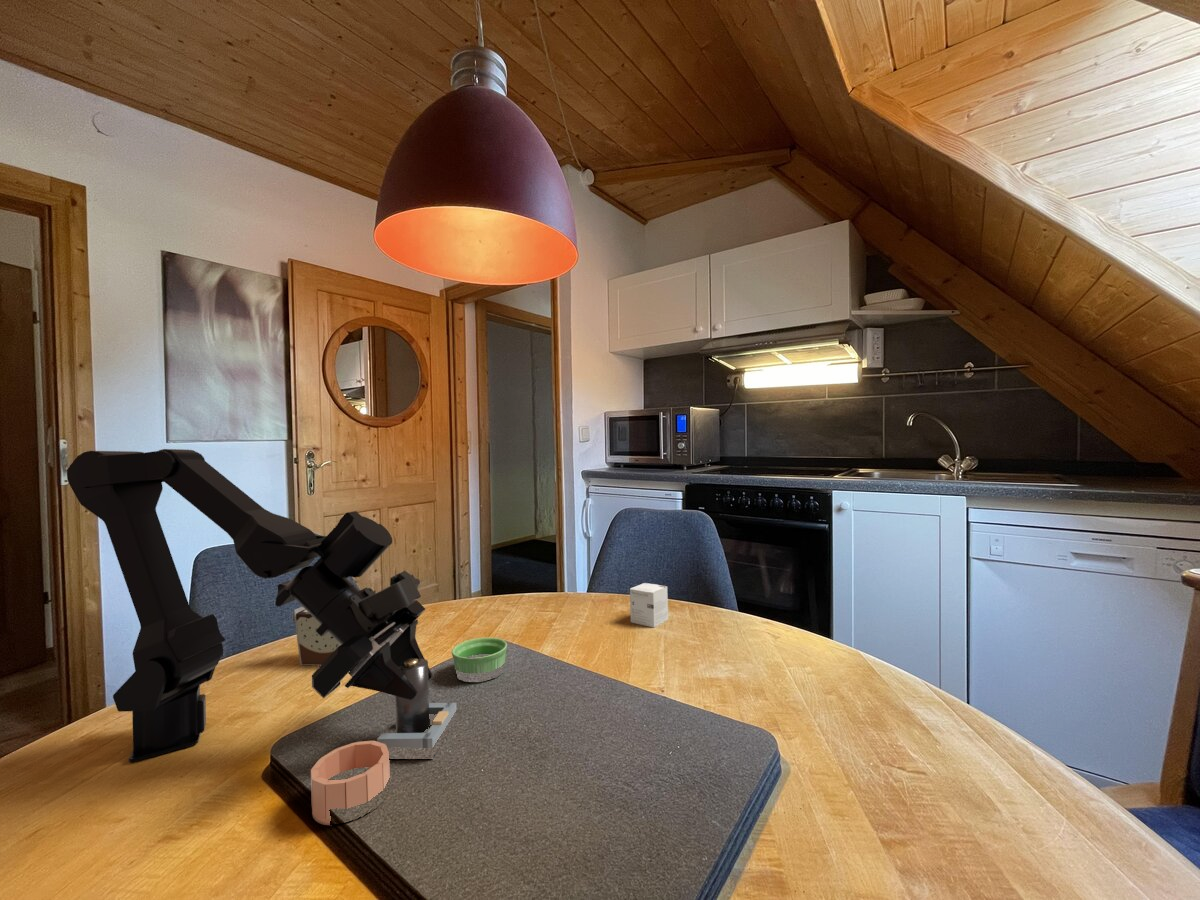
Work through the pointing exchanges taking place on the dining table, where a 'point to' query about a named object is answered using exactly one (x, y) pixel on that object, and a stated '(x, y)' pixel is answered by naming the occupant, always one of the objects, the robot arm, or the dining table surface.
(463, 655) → the ramekin
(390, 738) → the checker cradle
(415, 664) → the cylinder
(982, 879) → the dining table surface
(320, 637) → the food container
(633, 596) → the skincare box
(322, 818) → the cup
